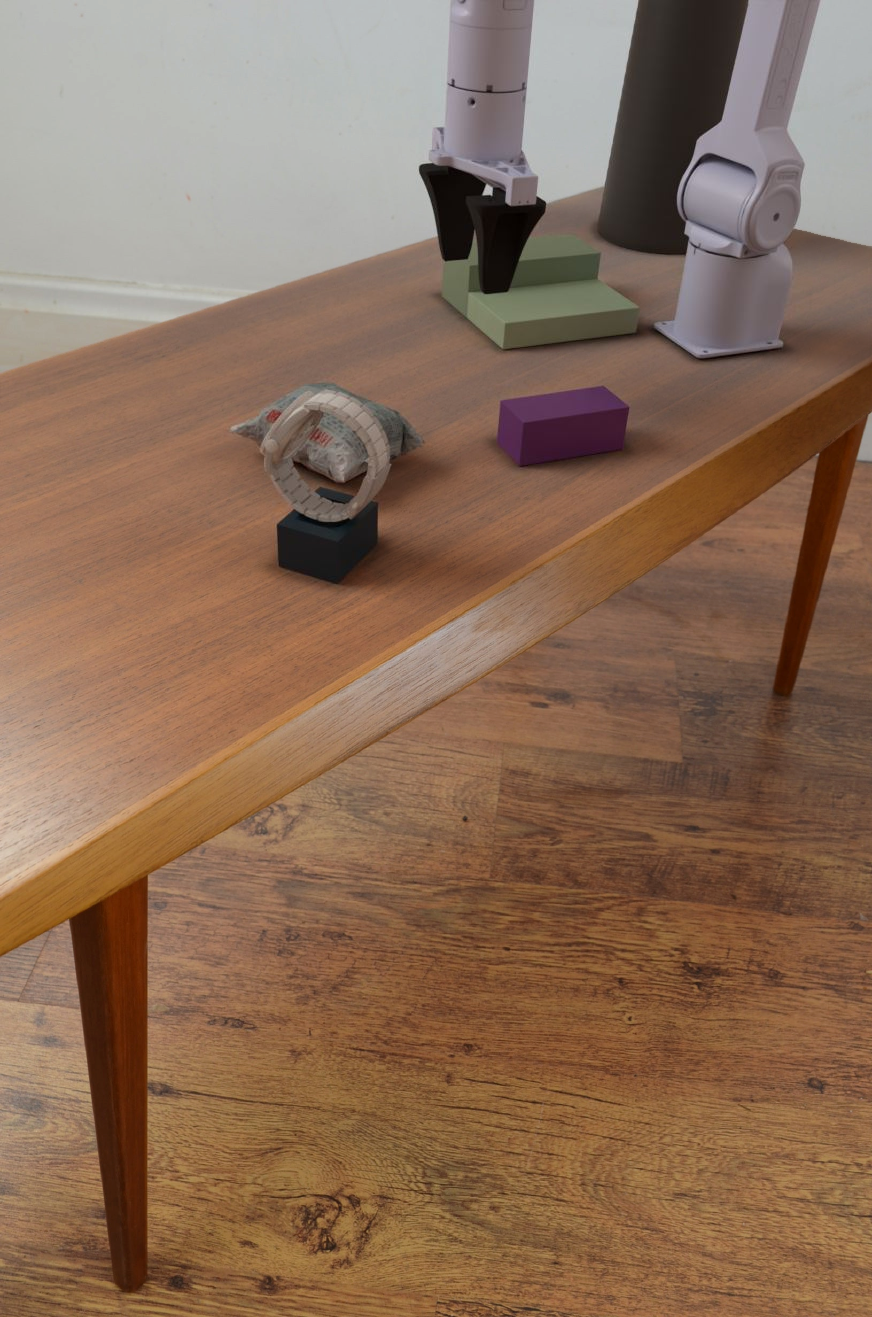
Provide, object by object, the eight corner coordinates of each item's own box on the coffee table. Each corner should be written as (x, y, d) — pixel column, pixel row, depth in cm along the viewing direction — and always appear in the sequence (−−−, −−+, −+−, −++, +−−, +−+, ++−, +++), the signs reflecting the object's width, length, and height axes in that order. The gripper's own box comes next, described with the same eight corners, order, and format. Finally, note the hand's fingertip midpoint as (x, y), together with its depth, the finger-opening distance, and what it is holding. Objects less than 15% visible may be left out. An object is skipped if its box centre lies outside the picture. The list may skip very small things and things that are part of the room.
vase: (593, 246, 128) (632, -58, 111) (600, 211, 139) (636, -71, 121) (717, 259, 127) (776, -47, 109) (714, 222, 137) (767, -62, 120)
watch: (295, 520, 78) (290, 367, 72) (401, 550, 76) (406, 394, 69) (251, 559, 74) (241, 400, 68) (362, 592, 72) (363, 431, 65)
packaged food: (343, 510, 80) (344, 445, 77) (229, 453, 85) (225, 390, 83) (426, 469, 85) (429, 407, 82) (313, 418, 91) (312, 359, 88)
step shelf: (566, 282, 118) (571, 233, 115) (636, 332, 108) (644, 280, 105) (441, 296, 114) (443, 244, 111) (502, 349, 104) (507, 295, 101)
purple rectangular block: (597, 427, 92) (603, 385, 90) (623, 449, 89) (630, 406, 87) (496, 443, 89) (500, 399, 87) (519, 466, 86) (523, 422, 84)
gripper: (397, 65, 86) (393, 249, 94) (477, 110, 75) (464, 312, 83) (483, 62, 88) (472, 242, 96) (572, 105, 77) (551, 303, 86)
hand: (474, 274), depth 90 cm, fingers open, 7 cm apart
